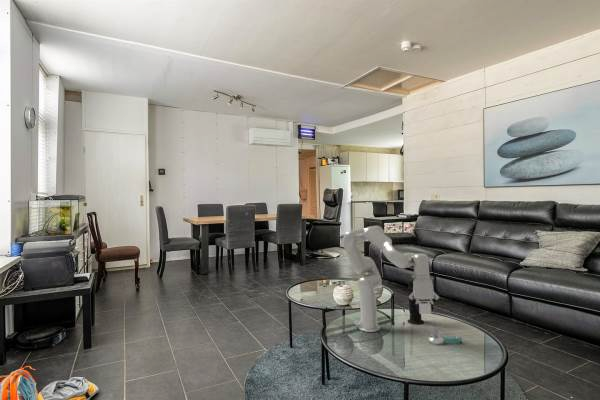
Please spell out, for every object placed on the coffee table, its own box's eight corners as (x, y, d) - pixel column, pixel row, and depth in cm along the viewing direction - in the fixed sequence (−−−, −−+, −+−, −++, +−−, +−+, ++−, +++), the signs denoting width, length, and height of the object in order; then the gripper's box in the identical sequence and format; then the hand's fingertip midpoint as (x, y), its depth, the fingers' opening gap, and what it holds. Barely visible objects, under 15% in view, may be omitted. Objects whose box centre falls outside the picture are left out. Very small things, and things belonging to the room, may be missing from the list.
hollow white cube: (419, 313, 172) (418, 304, 172) (418, 310, 178) (417, 301, 178) (431, 313, 170) (430, 304, 171) (430, 310, 176) (429, 301, 176)
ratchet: (429, 344, 170) (428, 331, 170) (427, 338, 178) (426, 325, 178) (463, 346, 166) (462, 332, 166) (459, 340, 174) (458, 326, 174)
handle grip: (426, 324, 198) (422, 319, 208) (423, 280, 199) (419, 277, 209) (409, 324, 199) (405, 319, 209) (407, 281, 200) (403, 277, 210)
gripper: (405, 278, 173) (408, 313, 173) (440, 278, 169) (443, 313, 168) (404, 276, 181) (407, 309, 180) (438, 275, 176) (441, 309, 175)
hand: (424, 310), depth 174 cm, fingers closed on hollow white cube, 5 cm apart
